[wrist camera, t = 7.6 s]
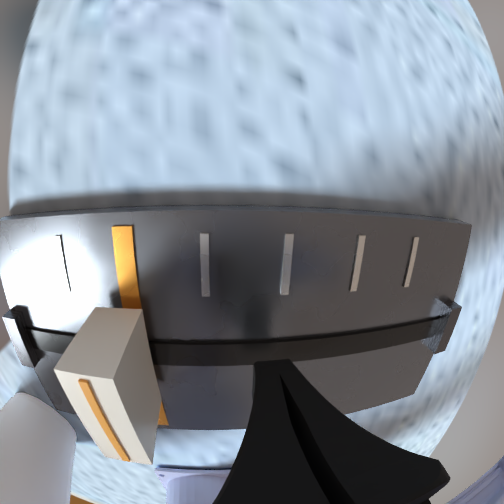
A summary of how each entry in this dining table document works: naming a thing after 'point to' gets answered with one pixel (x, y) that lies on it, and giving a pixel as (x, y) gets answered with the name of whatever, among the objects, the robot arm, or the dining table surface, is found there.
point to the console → (240, 298)
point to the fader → (113, 383)
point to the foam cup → (35, 453)
